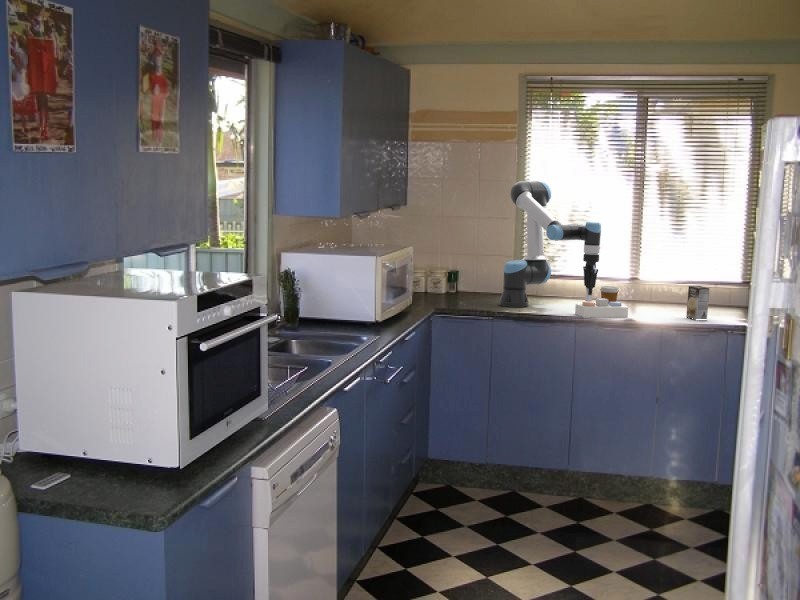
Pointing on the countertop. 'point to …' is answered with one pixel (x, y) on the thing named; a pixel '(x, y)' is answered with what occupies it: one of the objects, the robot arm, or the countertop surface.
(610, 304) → the key blue
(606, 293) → the disposable coffee cup
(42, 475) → the countertop surface
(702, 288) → the coffee box
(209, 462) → the countertop surface
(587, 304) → the key terracotta
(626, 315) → the keypad base
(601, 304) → the key grey
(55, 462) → the countertop surface
